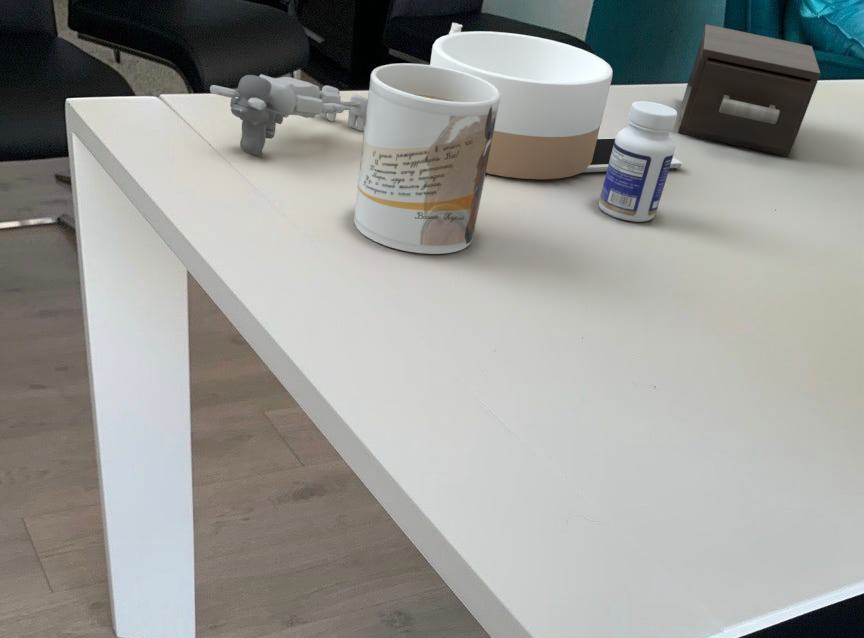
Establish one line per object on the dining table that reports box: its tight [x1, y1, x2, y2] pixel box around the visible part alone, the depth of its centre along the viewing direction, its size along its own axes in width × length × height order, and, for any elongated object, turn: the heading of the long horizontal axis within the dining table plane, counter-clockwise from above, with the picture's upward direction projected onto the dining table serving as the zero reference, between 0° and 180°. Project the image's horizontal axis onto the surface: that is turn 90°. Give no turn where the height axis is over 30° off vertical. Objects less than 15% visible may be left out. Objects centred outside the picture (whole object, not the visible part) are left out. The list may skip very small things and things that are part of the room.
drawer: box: [686, 58, 812, 151], centre depth 115 cm, size 18×11×7 cm, turn 165°
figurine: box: [209, 73, 368, 156], centre depth 94 cm, size 7×6×18 cm
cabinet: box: [677, 24, 821, 158], centre depth 118 cm, size 15×13×9 cm
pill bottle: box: [598, 100, 678, 223], centre depth 91 cm, size 5×5×9 cm
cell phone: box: [580, 137, 683, 174], centre depth 104 cm, size 8×16×1 cm, turn 118°
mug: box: [353, 62, 501, 255], centre depth 80 cm, size 10×12×11 cm
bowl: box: [429, 30, 613, 180], centre depth 99 cm, size 17×17×8 cm
